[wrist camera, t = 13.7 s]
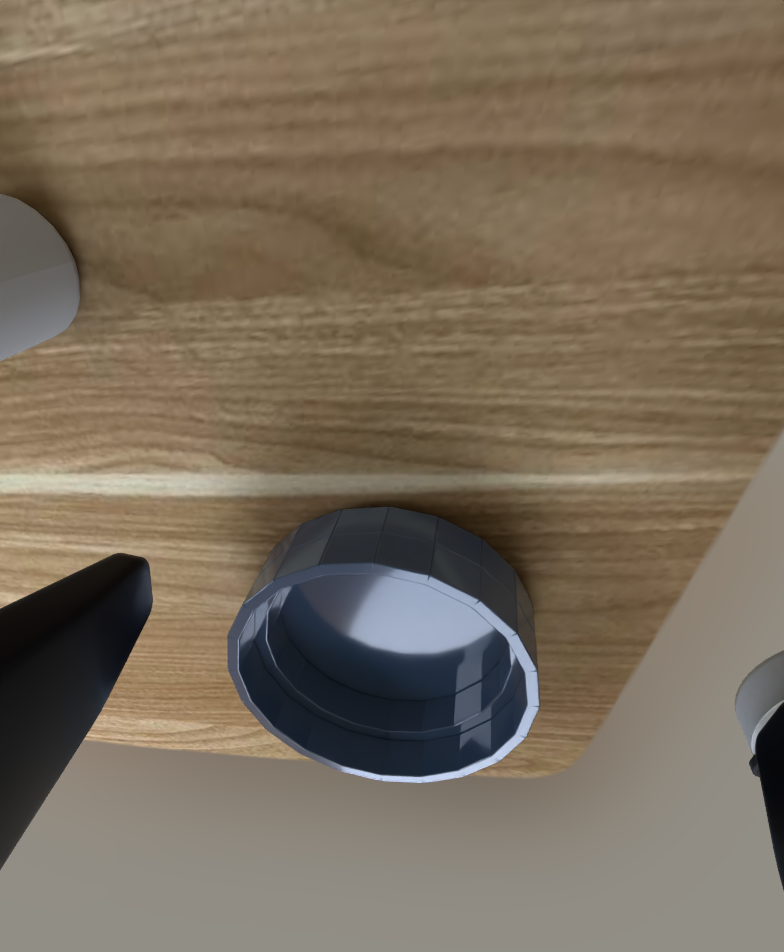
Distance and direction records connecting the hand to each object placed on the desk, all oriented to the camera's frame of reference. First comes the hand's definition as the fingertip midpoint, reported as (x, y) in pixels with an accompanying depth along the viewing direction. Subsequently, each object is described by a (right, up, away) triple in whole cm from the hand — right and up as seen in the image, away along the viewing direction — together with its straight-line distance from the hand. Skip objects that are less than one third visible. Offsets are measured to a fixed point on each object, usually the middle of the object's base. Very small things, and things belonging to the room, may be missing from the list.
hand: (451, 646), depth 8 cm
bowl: (-1, -4, +18) cm, 18 cm away
